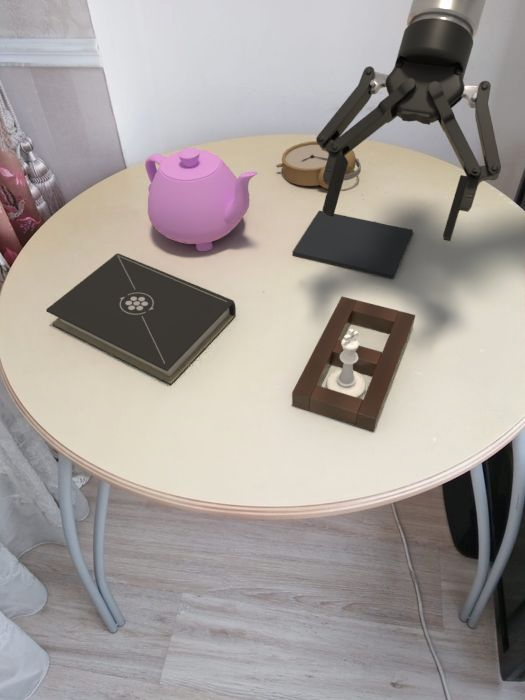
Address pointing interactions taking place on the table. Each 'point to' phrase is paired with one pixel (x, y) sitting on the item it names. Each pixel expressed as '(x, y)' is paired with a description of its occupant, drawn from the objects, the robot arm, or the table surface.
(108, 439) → the table surface
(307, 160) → the alarm clock
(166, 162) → the teapot
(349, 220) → the mat
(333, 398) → the holder
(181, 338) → the book
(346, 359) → the chess piece
